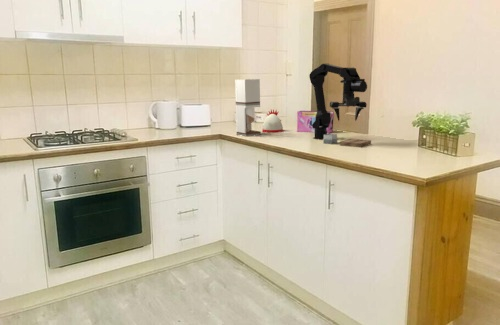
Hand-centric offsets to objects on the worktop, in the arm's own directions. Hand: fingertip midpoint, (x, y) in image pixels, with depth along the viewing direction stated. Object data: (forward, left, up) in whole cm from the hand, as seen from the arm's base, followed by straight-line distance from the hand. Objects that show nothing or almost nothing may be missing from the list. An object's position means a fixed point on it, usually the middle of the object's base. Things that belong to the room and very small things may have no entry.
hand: (347, 120), depth 224 cm
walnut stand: (+7, -4, -12) cm, 15 cm away
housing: (-7, -6, -12) cm, 15 cm away
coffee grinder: (-67, -4, -12) cm, 68 cm away
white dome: (-64, +18, -13) cm, 68 cm away
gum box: (-38, +30, -13) cm, 50 cm away
